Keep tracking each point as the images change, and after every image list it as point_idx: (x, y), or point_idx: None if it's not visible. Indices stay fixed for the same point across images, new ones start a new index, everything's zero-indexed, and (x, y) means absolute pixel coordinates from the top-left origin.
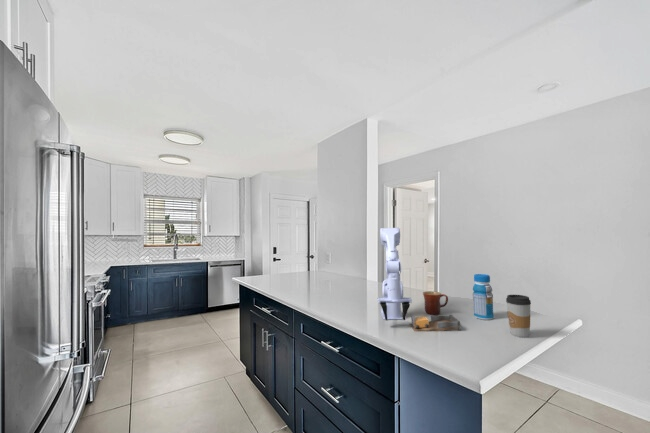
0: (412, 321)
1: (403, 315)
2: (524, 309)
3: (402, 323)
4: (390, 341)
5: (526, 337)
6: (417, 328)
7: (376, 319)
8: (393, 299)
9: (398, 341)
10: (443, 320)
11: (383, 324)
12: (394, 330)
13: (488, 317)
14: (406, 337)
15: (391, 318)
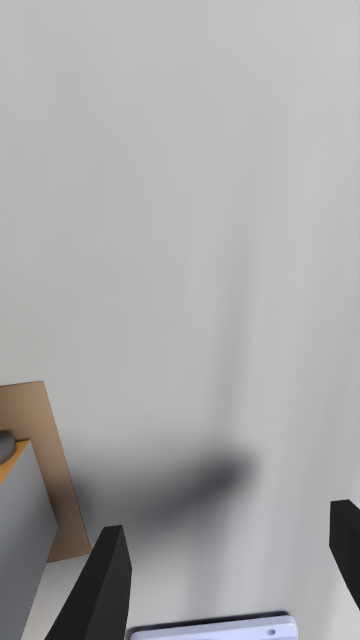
0: (32, 543)
1: (107, 609)
2: None
3: (143, 554)
4: (317, 32)
5: None
6: (4, 432)
7: (345, 612)
8: None
9: (223, 43)
10: None
11: (308, 518)
12: (229, 388)
13: None
14: (124, 197)
15: (228, 631)
